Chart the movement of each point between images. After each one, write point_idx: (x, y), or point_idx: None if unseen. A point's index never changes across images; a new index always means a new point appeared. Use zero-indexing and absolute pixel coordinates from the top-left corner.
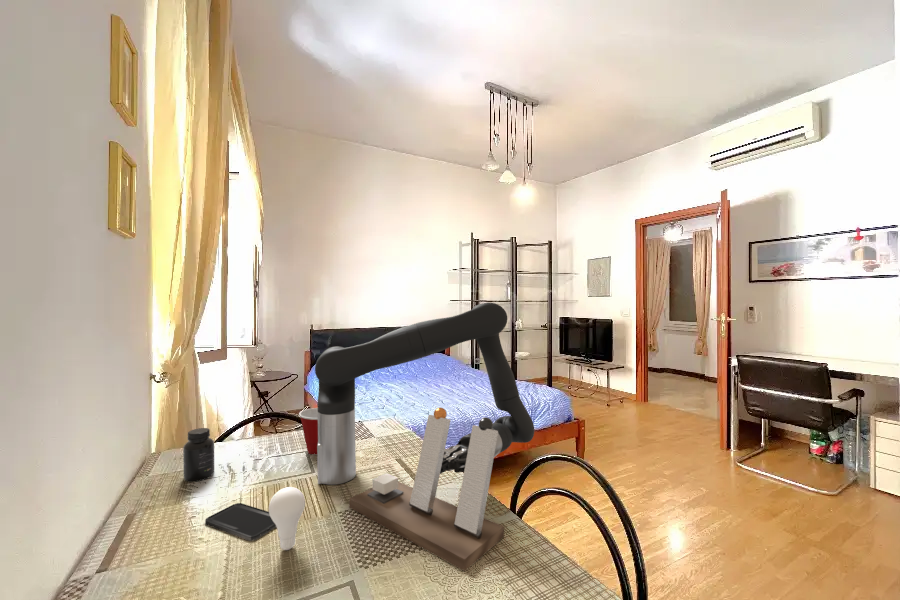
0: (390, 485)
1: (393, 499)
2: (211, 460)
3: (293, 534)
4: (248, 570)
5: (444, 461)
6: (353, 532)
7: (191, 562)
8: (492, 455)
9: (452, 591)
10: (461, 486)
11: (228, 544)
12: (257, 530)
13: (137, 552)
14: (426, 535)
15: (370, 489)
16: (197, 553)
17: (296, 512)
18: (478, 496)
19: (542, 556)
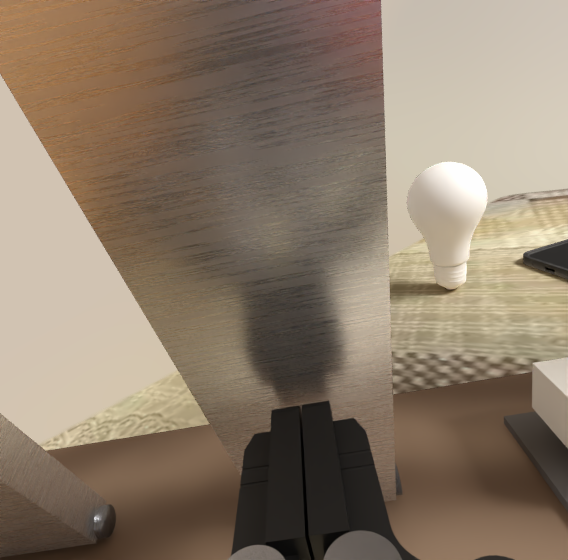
0: (559, 409)
1: (530, 467)
2: None
3: (432, 260)
4: (424, 263)
5: (268, 514)
6: (434, 364)
7: (496, 232)
8: None
9: (75, 426)
10: (10, 422)
11: (529, 246)
12: (549, 257)
13: (565, 205)
14: (199, 434)
15: None
16: (521, 232)
17: (409, 211)
18: None
19: None
